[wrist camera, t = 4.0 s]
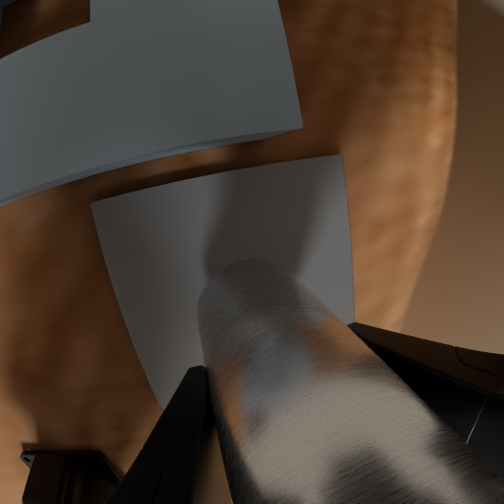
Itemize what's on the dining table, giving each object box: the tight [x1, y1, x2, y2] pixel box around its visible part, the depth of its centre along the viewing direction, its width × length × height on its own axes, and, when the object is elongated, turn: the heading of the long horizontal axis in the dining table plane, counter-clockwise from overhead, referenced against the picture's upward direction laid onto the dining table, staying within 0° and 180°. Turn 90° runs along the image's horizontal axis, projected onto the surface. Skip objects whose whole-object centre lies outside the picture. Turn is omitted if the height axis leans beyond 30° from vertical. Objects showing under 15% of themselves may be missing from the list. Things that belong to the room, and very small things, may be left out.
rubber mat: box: [90, 154, 354, 410], centre depth 13 cm, size 10×10×1 cm
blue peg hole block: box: [0, 0, 303, 206], centre depth 7 cm, size 14×16×4 cm
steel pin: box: [197, 259, 504, 504], centre depth 7 cm, size 4×4×10 cm
